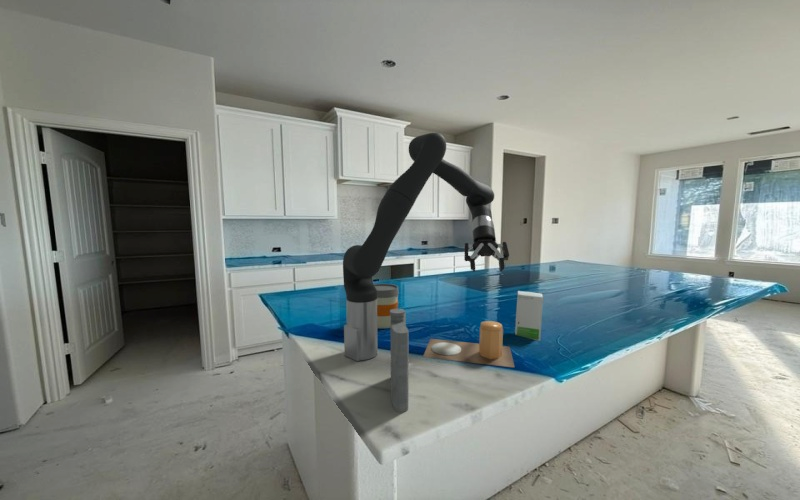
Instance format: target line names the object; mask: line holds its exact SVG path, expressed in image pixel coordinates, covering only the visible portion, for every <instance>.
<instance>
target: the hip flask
mask: <svg viewBox="0 0 800 500" xmlns="http://www.w3.org/2000/svg"><path fill="white" fill-rule="evenodd" d="M406 314H407V312H406V310H405V309H403V308H397V309H391V310H390V315H391V327H390V400H391V404H392V407H393V409H394V411H395V412H396V413H405V412H407V411H409V371H410V370H409V364H410V363H409V356H410V355H409V352H410V351H409V349H410V348H409V339H410V338H409V337H410V336H409V334H410V333H409V332H410V331H409V328H408V327H407V323H406V321H407V319H406V318H407V315H406Z"/></svg>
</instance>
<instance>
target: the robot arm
mask: <svg viewBox="0 0 800 500" xmlns="http://www.w3.org/2000/svg"><path fill="white" fill-rule="evenodd" d="M446 152H447V141H446V138H445V137H444V136H443V135H442V134H441V133H438V132H429V133H426V134H421V135H419V136H416V137H414V138H412V139H411V140H410V141H409V145H408V153H409V156H410V159H411V160H412V161H413V163H412V164H411V165H410V167H408V168H407V169H406V171H404V172H403V173H402V174H400V176H399V177H398V178H396V180H394V181H393V182H392V184H390V185H389V187H388V188H387V190H386V192H385V194H384V195H383V197H382V198H381V201H380V202H379V204H378V208H377V212H376V215H375V220H374V221H375V222H374V224H373V228H372V229H371V231H370V232H369V234H368V236H367V238H366V240H365V241H364V242H363V244H362V245H360V244H357V245H355V244H354V245H352V246H350V247H349V248H347V249H346V251H345V252H344V255H343V258H342V259H343V260H342V272H343V273H342V274H343V275H342V276H343V288H344V291H345V296H346V297H345V298H346V299H345V300H346V301H345V302H346V324H344V325H343V336H344V337H343V340H344V341H343V343H344V349H343V350H344V356H345V357H348V358H349V359H352V360H353V361H356V362H360V361H366V360H367V361H368V360H370V359H373V358H375V357H376V356H377V355H378V328H377V290H376V288H375V286H374V282H373V277H374V276H375V275H377V274H378V272H379V270H380V269H381V267H382V265H383V264H384V260H385V258H386V256H387V255H388V252H389V249H390V248H391V247H390V246H391V245H392V243H393V241H394V239H395V237H396V236H397V234H398V232H399V230H400V229H401V227H402V225H403V223H404V222H405V220H406V219H407V217H408V215H409V214H410V211H411V210H412V208H413V207H414V205H415V203H416V200H417V199H418V197H419V195H420V194H421V192H422V191H423V189H424V187H425V186H426V183H427V182H428V180H429V179H430V177H431V176H432V174H433V175H436V176H437V177H438V178H440V179H442V180H443V181H444V182H446V183H447V184H449V185H450V186H451V187H452V188H453V189H454V190H456V191H457V192H458V193H459V194H460V195H462V196H463V197H466V198H465V202H466V205H467V207H468V209H469V210H470V214H471V220H472V221H471V222H472V223H471V224H472V225H471V226H472V227H471V229H472V231H471V233H472V240H473V242H472V244H469V243H468V242H465V243H464V259H463V260H464V262H469V263H470V265H469V266H470V270H471V271H472V273H473V272H474V273H475V272H476V262H475V261H476V260H477V259H478V258H479V257H491V256H492V257H493V258H494V259H496V260H497V261H498V267H499V272H503V270H504V269H505V265H506V264H505V261H509V258H510V253H509V249H508V244H507V242H506V241H503V242H502V243H498V242H497V240H496V239H497V238H496V232H495V231H496V230H495V225H494V222H493V216H492V210H491V208H490V206H488V205H489V204H491V203H492V202H493V201H494V199H495V193H494V190H493V189H492V188H491V187H490V186H489V185H487V184H486V183H482V182H480V181H478V180H476V179H474V178H473V177H472V176H471V175H470V174H469V173H468V172H467V171H465V170H464V169H463V168H461V167H459V166H457V165H455V164H453V163H450V162H449V161H447V160H446V159H444V157H445V155H446ZM498 249H500V251H499V250H498ZM471 250H473V253H472V254H471V255H469V252H470V251H471ZM501 251H502V253H501Z"/></svg>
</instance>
